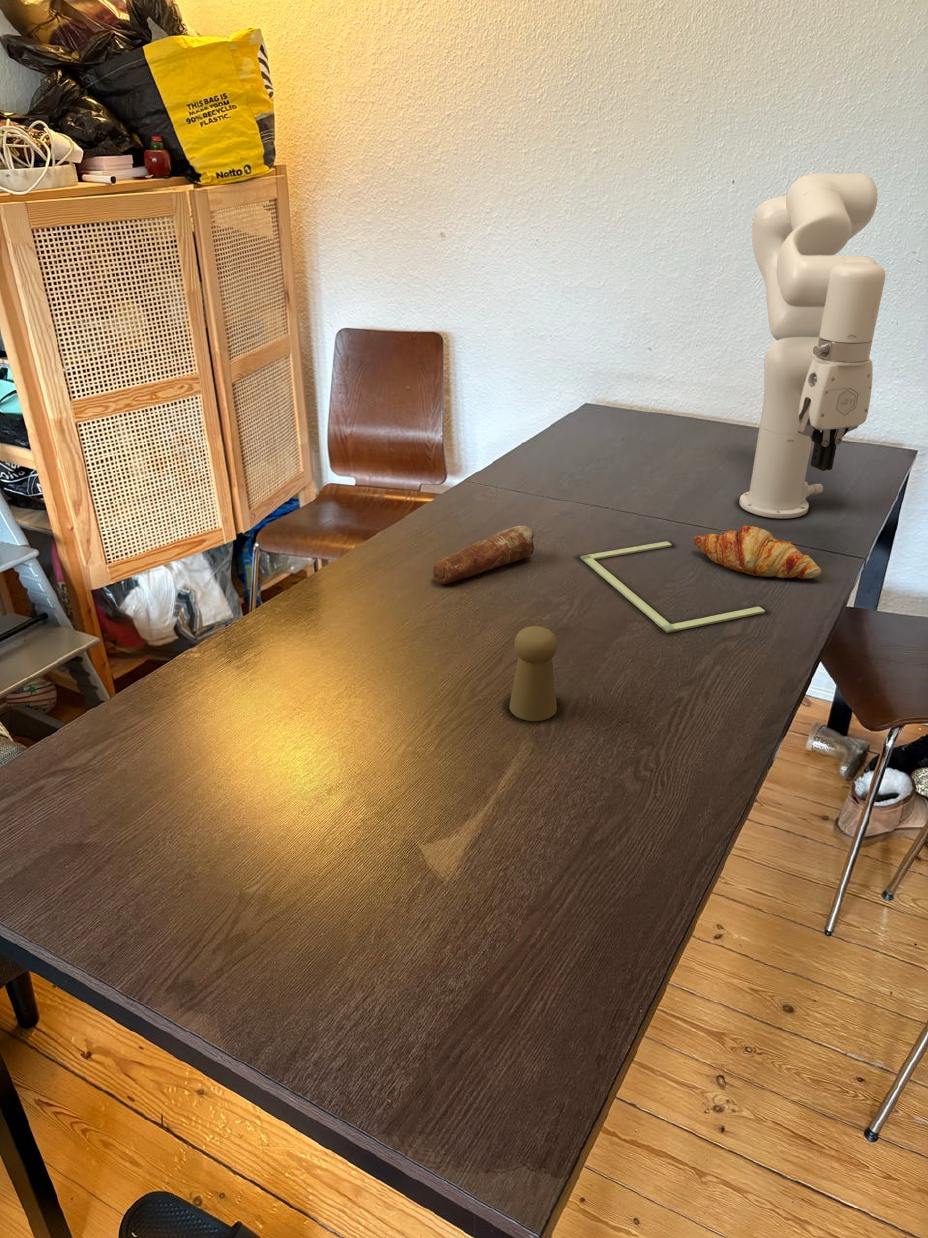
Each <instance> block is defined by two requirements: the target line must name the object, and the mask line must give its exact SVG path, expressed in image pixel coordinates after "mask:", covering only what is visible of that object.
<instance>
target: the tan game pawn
mask: <svg viewBox="0 0 928 1238" xmlns="http://www.w3.org/2000/svg"><path fill="white" fill-rule="evenodd" d="M557 650H558V640H557V637H556V635H555V634H554V632H553V631H552V630H551V629H549V628H547V627H543V626H538V625H532V626H528V627H524V628H522V629H521V630H519V631H518V632H517V634H516V636H515V637H514V651H515V653H516V655H517V656H518V657H517V663H516V666H515V667H516V668H515V672H514V679H513V685H512V689H511V694H510V700H509V707H508V708H509V710H510V713H511V714H513V716H515V717H516V718H518V719H520V720H523V721H528V722H539V721H545V720H548V719H550V718H552V717H553V716H555V714H556V713H557V711H558V706H557V705H558V704H557V695H556V684H555V675H554V663H553V657H555V655H556V653H557Z"/></svg>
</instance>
